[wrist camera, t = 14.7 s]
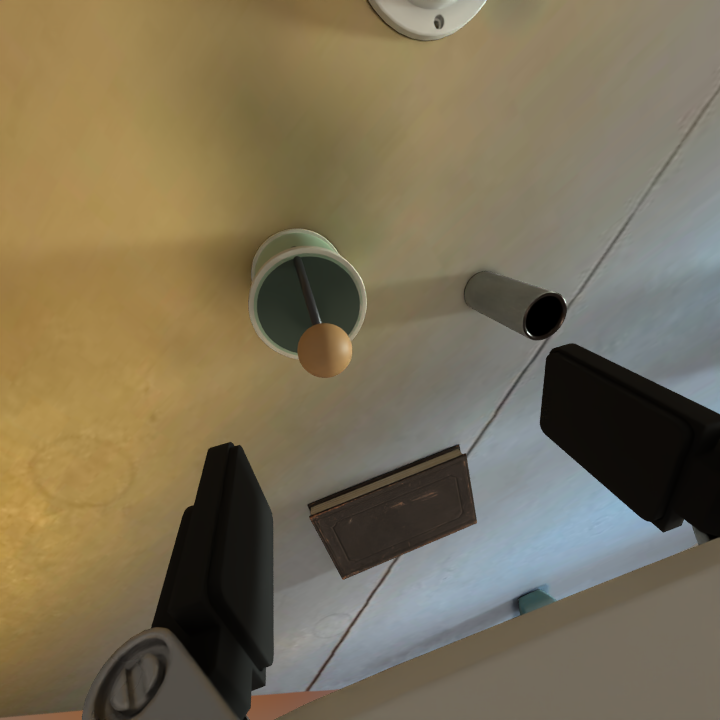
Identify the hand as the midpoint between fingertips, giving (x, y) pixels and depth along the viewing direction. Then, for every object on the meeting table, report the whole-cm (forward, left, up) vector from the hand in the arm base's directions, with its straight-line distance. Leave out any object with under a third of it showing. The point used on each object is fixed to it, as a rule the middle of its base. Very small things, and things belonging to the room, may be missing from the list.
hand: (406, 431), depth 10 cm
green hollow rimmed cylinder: (+5, -1, -18) cm, 19 cm away
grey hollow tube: (+7, +19, -27) cm, 33 cm away
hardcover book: (+38, +4, -27) cm, 47 cm away
